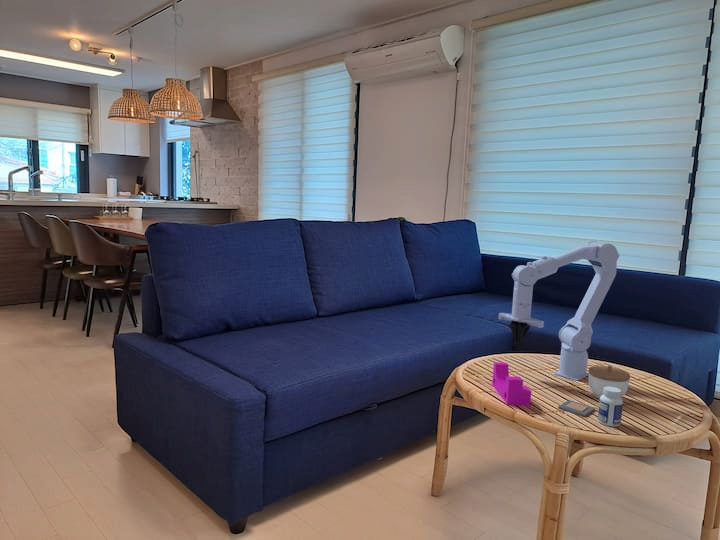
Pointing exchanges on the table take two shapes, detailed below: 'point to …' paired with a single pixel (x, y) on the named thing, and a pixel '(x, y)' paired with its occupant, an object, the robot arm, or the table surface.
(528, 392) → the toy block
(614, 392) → the pill bottle
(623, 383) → the lidded jar
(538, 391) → the table surface
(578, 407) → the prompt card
